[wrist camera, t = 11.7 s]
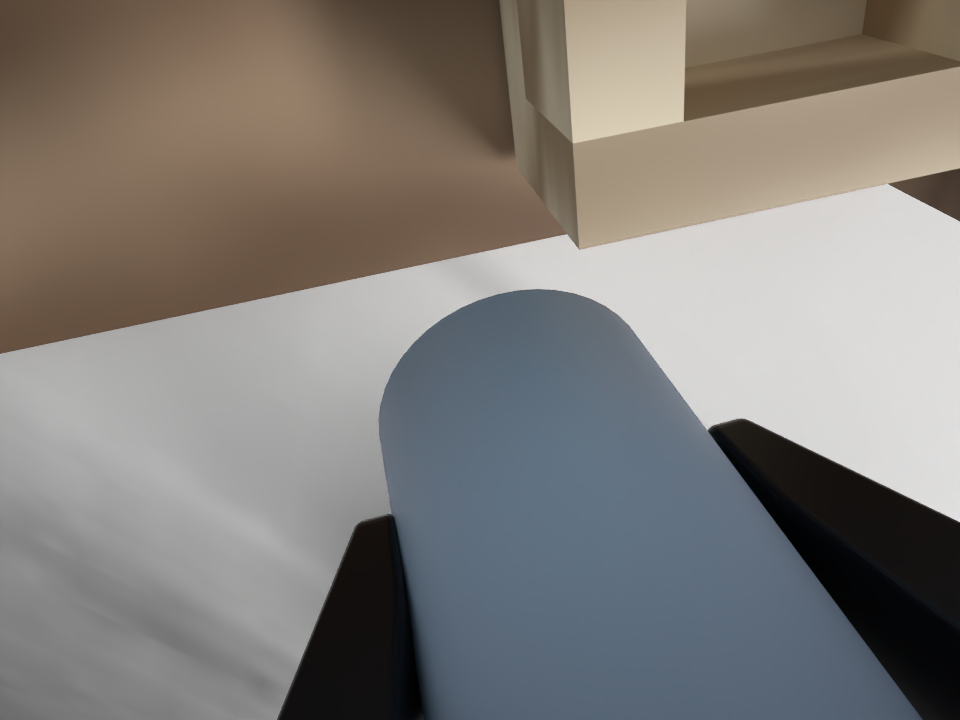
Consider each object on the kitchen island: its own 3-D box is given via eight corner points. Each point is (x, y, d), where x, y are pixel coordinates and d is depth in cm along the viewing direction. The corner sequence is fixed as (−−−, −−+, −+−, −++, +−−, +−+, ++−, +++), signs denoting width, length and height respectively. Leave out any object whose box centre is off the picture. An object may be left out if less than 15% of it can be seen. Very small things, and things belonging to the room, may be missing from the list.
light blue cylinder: (654, 478, 11) (953, 975, 6) (412, 544, 11) (517, 1126, 6) (644, 257, 9) (1085, 735, 4) (346, 332, 9) (420, 949, 4)
